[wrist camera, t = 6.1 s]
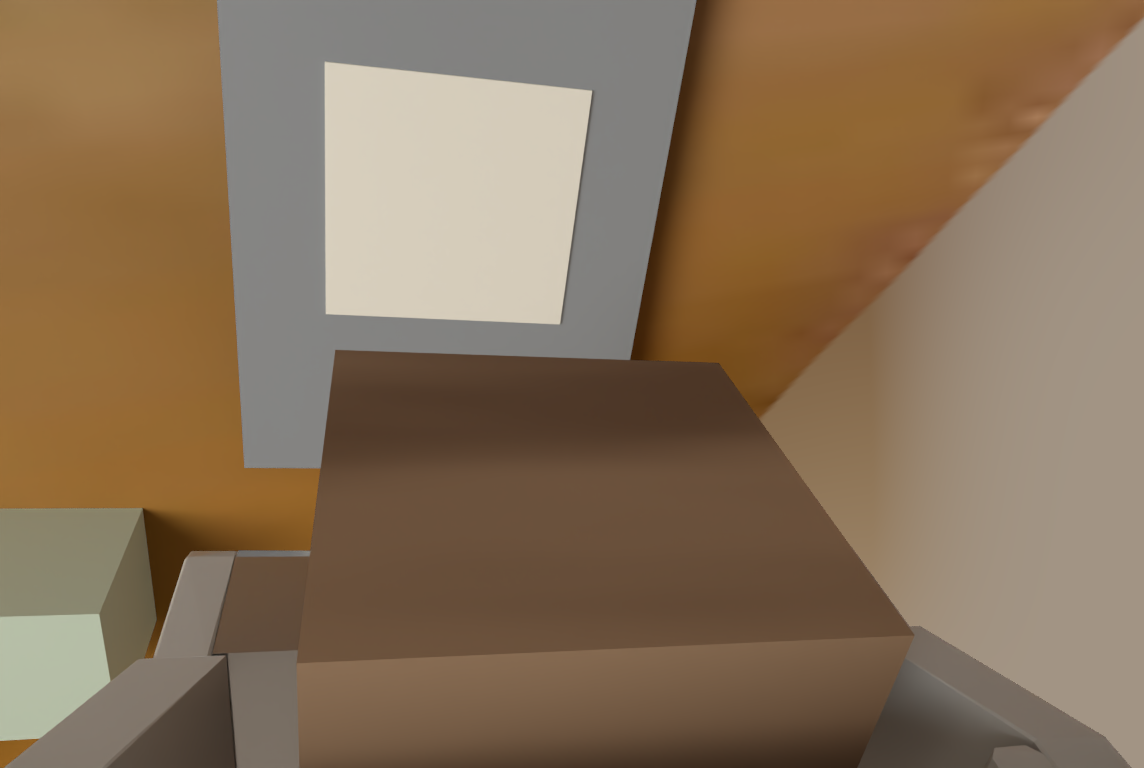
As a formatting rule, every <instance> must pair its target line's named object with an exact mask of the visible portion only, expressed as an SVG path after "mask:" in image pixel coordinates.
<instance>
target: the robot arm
mask: <svg viewBox="0 0 1144 768" xmlns="http://www.w3.org/2000/svg"><path fill="white" fill-rule="evenodd" d="M851 548H852V547H851ZM852 549H853V548H852ZM854 552H855V551H854ZM855 553H856V552H855ZM856 555H857V554H856ZM857 556H858V555H857ZM858 557H859V556H858ZM309 558H310V551H242V550H239V551H238V552H236V551H191V552H190V554H189V555H188V556H187V557H186V559H185V560H184V563H183V566H182V569H181V572H180V575H179V578H178V582H177V585H176V588H175V591H174V594H173V597H172V600H171V603H170V607H169V610H168V613H167V616H166V619H165V622H164V625H163V628H162V632H161V635H160V638H159V641H158V644H157V647H156V650H155V654H154V657H153V658H150V659H138V660H137V661H135V662H134V663H133V664H132V665H130V666H129V667H128V668H127V669H125V670H124V671H123V672H122V673H120V674H119V675H118V676H117V677H115V678H114V679H113V680H112V681H111V682H109V683H108V684H107V685H106V686H104V687H103V688H102V689H101V690H99V691H98V692H97V693H96V694H94V695H93V696H92V697H91V698H90V699H88V700H87V701H86V702H85V703H83V704H82V705H81V706H80V707H78V708H77V709H76V710H75V711H73V712H72V713H71V714H70V715H69V716H67V717H66V718H65V719H64V720H62V721H61V722H60V723H59V724H57V725H56V726H55V727H54V728H52V729H51V730H50V731H49V732H47V733H46V734H45V735H44V736H43V737H41V738H40V739H39V740H38V741H36V742H35V743H34V744H33V745H31V746H30V747H29V748H28V749H26V750H25V751H24V752H23V753H22V754H20V755H19V756H18V757H17V758H15V759H14V760H13V761H12V762H10V763H9V764H8V765H7V766H5V767H4V768H299V737H298V702H297V666H296V663H297V655H298V647H299V639H300V630H301V622H302V614H303V606H304V598H305V590H306V582H307V574H308V566H309ZM859 559H860V558H859ZM860 560H861V559H860ZM862 563H863V562H862ZM863 564H864V563H863ZM864 566H865V565H864ZM865 567H866V566H865ZM866 568H867V567H866ZM867 570H868V569H867ZM868 571H869V570H868ZM869 573H870V572H869ZM870 574H871V573H870ZM871 575H872V574H871ZM872 577H873V576H872ZM873 578H874V577H873ZM874 579H875V578H874ZM875 581H876V580H875ZM876 582H877V581H876ZM877 584H878V582H877ZM878 585H879V584H878ZM879 586H880V585H879ZM880 588H881V587H880ZM881 589H882V588H881ZM882 591H883V589H882ZM883 592H884V591H883ZM884 593H885V592H884ZM885 595H886V593H885ZM886 596H887V595H886ZM887 598H888V596H887ZM888 599H889V598H888ZM889 600H890V599H889ZM890 602H891V600H890ZM891 603H892V602H891ZM892 604H893V603H892ZM893 606H894V604H893ZM894 607H895V606H894ZM895 609H896V607H895ZM896 610H897V609H896ZM897 611H898V610H897ZM898 613H899V611H898ZM899 614H900V613H899ZM900 616H901V617H902V615H901V614H900ZM902 618H903V617H902ZM903 620H904V618H903ZM904 621H905V620H904ZM905 622H906V621H905ZM906 624H907V622H906ZM907 625H908V624H907ZM908 627H909V628H910V629H911V631H912V632H913V634H914V635H915V636H914V638H913V641H912V643H911V645H910V648H909V650H908V652H907V654H906V657H905V659H904V661H903V664H902V666H901V668H900V671H899V673H898V675H897V678H896V680H895V682H894V684H893V687H892V689H891V691H890V694H889V696H888V698H887V701H886V703H885V705H884V707H883V710H882V712H881V714H880V717H879V719H878V721H877V724H876V726H875V728H874V731H873V733H872V735H871V737H870V740H869V742H868V744H867V747H866V749H865V751H864V754H863V756H862V758H861V761H860V763H859V765H858V767H857V768H1131V767H1130V765H1129V764H1128V763H1127V762H1126V761H1125V760H1124V759H1123V758H1122V756H1121V755H1120V754H1119V753H1118V751H1117V750H1116V749H1115V748H1114V747H1113V746H1112V745H1111V743H1110V742H1109V741H1108V740H1107V739H1106V738H1105V737H1104V736H1103V735H1101V734H1099V733H1098V732H1096V731H1094V730H1093V729H1091V728H1089V727H1088V726H1086V725H1084V724H1083V723H1081V722H1079V721H1078V720H1076V719H1074V718H1073V717H1071V716H1069V715H1067V714H1066V713H1064V712H1063V711H1061V710H1059V709H1058V708H1056V707H1054V706H1053V705H1051V704H1049V703H1048V702H1046V701H1044V700H1043V699H1041V698H1039V697H1038V696H1035V695H1034V694H1033V693H1031V692H1029V691H1028V690H1026V689H1024V688H1023V687H1021V686H1019V685H1018V684H1016V683H1014V682H1013V681H1011V680H1009V679H1007V678H1006V677H1004V676H1003V675H1001V674H999V673H997V672H996V671H994V670H993V669H991V668H989V667H988V666H986V665H984V664H983V663H981V662H979V661H977V660H976V659H974V658H972V657H971V656H969V655H967V654H966V653H964V652H962V651H961V650H959V649H957V648H956V647H954V646H952V645H951V644H949V643H947V642H945V641H944V640H942V639H941V638H939V637H937V636H935V635H934V634H932V633H931V632H929V631H927V630H926V629H924V628H922V627H920V626H912V627H910V626H909V625H908Z"/></svg>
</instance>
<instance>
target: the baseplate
mask: <svg viewBox="0 0 1144 768" xmlns="http://www.w3.org/2000/svg"><path fill="white" fill-rule="evenodd" d="M695 6H696V0H217V8H218V25H219V42H220V59H221V76H222V93H223V110H224V127H225V144H226V161H227V178H228V195H229V212H230V229H231V246H232V263H233V280H234V297H235V314H236V331H237V348H238V365H239V382H240V399H241V417H242V434H243V451H244V468H321V461H322V453H323V445H324V437H325V429H326V421H327V413H328V404H329V396H330V388H331V380H332V372H333V364H334V356H335V350H355V351H384V352H413V353H442V354H471V355H500V356H529V357H558V358H587V359H616V360H630V357H631V352H632V347H633V341H634V336H635V330H636V325H637V320H638V314H639V309H640V303H641V298H642V293H643V287H644V282H645V276H646V271H647V266H648V260H649V255H650V249H651V244H652V238H653V233H654V228H655V222H656V217H657V211H658V206H659V201H660V195H661V190H662V184H663V179H664V174H665V168H666V163H667V157H668V152H669V146H670V141H671V136H672V130H673V125H674V119H675V114H676V109H677V103H678V98H679V92H680V87H681V82H682V76H683V71H684V65H685V60H686V54H687V49H688V44H689V38H690V33H691V27H692V22H693V17H694V11H695Z"/></svg>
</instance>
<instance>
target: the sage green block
mask: <svg viewBox="0 0 1144 768" xmlns="http://www.w3.org/2000/svg"><path fill="white" fill-rule="evenodd" d="M156 621H157V617H156V609H155V601H154V594H153V586H152V578H151V570H150V562H149V554H148V547H147V539H146V531H145V523H144V515H143V508H45V509H0V741H5V740H22V739H39V738H41V737H43V736H44V735H45V734H46V733H47V732H49V731H50V730H51V729H52V728H54V727H55V726H56V725H57V724H59V723H60V722H61V721H62V720H64V719H65V718H66V717H67V716H69V715H70V714H71V713H72V712H73V711H75V710H76V709H77V708H78V707H80V706H81V705H82V704H83V703H85V702H86V701H87V700H88V699H90V698H91V697H92V696H93V695H94V694H96V693H97V692H98V691H99V690H101V689H102V688H103V687H104V686H106V685H107V684H108V683H109V682H111V681H112V680H113V679H114V678H115V677H117V676H118V675H119V674H120V673H122V672H123V671H124V670H125V669H127V668H128V667H129V666H130V665H132V664H133V663H134V662H135V661H137V660H138V659H144V657H145V654H146V651H147V648H148V645H149V642H150V639H151V636H152V633H153V630H154V627H155V624H156Z"/></svg>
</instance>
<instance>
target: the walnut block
mask: <svg viewBox="0 0 1144 768" xmlns="http://www.w3.org/2000/svg"><path fill="white" fill-rule="evenodd" d="M914 636H915V635H914V634H913V632H912V631H911V629H910V628H909V627H908V625H907V624H906V622H905V621H904V620H903V618H902V617H901V616H900V614H899V613H898V611H897V610H896V609H895V607H894V606H893V604H892V603H891V602H890V600H889V599H888V598H887V596H886V595H885V593H884V592H883V591H882V589H881V588H880V586H879V585H878V584H877V582H876V581H875V579H874V578H873V577H872V575H871V574H870V573H869V571H868V570H867V568H866V567H865V566H864V564H863V563H862V561H861V560H860V559H859V557H858V556H857V555H856V553H855V552H854V550H853V549H852V548H851V546H850V545H849V544H848V542H847V541H846V539H845V538H844V537H843V535H842V534H841V532H840V531H839V530H838V528H837V527H836V525H835V524H834V523H833V521H832V520H831V518H830V517H829V516H828V514H827V513H826V512H825V510H824V509H823V507H822V506H821V505H820V503H819V502H818V500H817V499H816V498H815V496H814V495H813V494H812V492H811V491H810V489H809V488H808V487H807V485H806V484H805V483H804V481H803V480H802V478H801V477H800V476H799V474H798V473H797V471H796V470H795V468H794V467H793V466H792V464H791V463H790V462H789V460H788V459H787V458H786V456H785V455H784V453H783V452H782V450H781V449H780V448H779V446H778V445H777V444H776V442H775V441H774V439H773V438H772V437H771V435H770V434H769V432H768V431H767V430H766V428H765V427H764V425H763V424H762V423H761V421H760V420H759V419H758V417H757V416H756V414H755V413H754V412H753V410H752V409H751V407H750V406H749V405H748V403H747V402H746V400H745V399H744V398H743V396H742V395H741V394H740V392H739V391H738V389H737V388H736V387H735V385H734V384H733V382H732V381H731V380H730V378H729V377H728V376H727V374H726V373H725V371H724V370H723V369H722V367H721V366H720V364H719V363H703V362H674V361H645V360H616V359H587V358H558V357H529V356H500V355H471V354H442V353H413V352H384V351H355V350H335V356H334V364H333V372H332V380H331V388H330V396H329V404H328V413H327V421H326V429H325V437H324V445H323V453H322V461H321V469H320V477H319V485H318V493H317V501H316V509H315V517H314V526H313V534H312V542H311V550H310V558H309V566H308V574H307V582H306V590H305V598H304V606H303V614H302V622H301V630H300V639H299V647H298V655H297V663H296V666H297V702H298V737H299V768H857V767H858V765H859V763H860V761H861V758H862V756H863V754H864V751H865V749H866V747H867V744H868V742H869V740H870V737H871V735H872V733H873V731H874V728H875V726H876V724H877V721H878V719H879V717H880V714H881V712H882V710H883V707H884V705H885V703H886V701H887V698H888V696H889V694H890V691H891V689H892V687H893V684H894V682H895V680H896V678H897V675H898V673H899V671H900V668H901V666H902V664H903V661H904V659H905V657H906V654H907V652H908V650H909V648H910V645H911V643H912V641H913V638H914Z"/></svg>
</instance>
